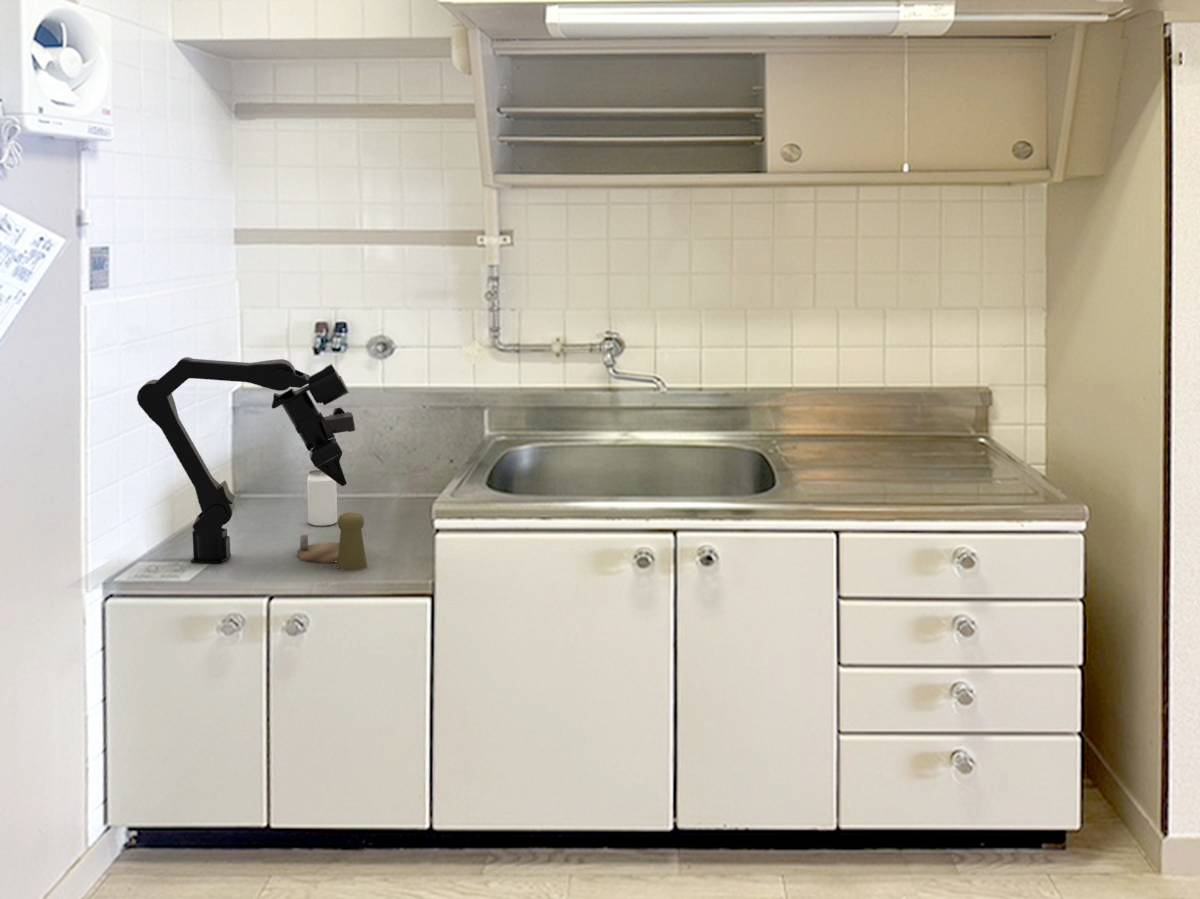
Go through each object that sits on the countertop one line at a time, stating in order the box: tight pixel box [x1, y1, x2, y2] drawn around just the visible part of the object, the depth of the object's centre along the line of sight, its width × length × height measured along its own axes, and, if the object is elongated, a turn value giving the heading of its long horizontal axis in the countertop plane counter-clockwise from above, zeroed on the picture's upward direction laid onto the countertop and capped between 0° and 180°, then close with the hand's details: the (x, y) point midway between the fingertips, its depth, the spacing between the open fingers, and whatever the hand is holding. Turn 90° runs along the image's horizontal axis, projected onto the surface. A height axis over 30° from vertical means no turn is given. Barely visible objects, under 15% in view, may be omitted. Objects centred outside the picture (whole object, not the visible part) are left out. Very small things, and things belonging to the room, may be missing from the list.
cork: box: [336, 512, 368, 571], centre depth 289 cm, size 6×6×11 cm
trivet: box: [296, 534, 340, 563], centre depth 298 cm, size 13×13×4 cm
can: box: [306, 469, 338, 527], centre depth 325 cm, size 6×6×12 cm
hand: (342, 480), depth 297 cm, fingers open, 9 cm apart
